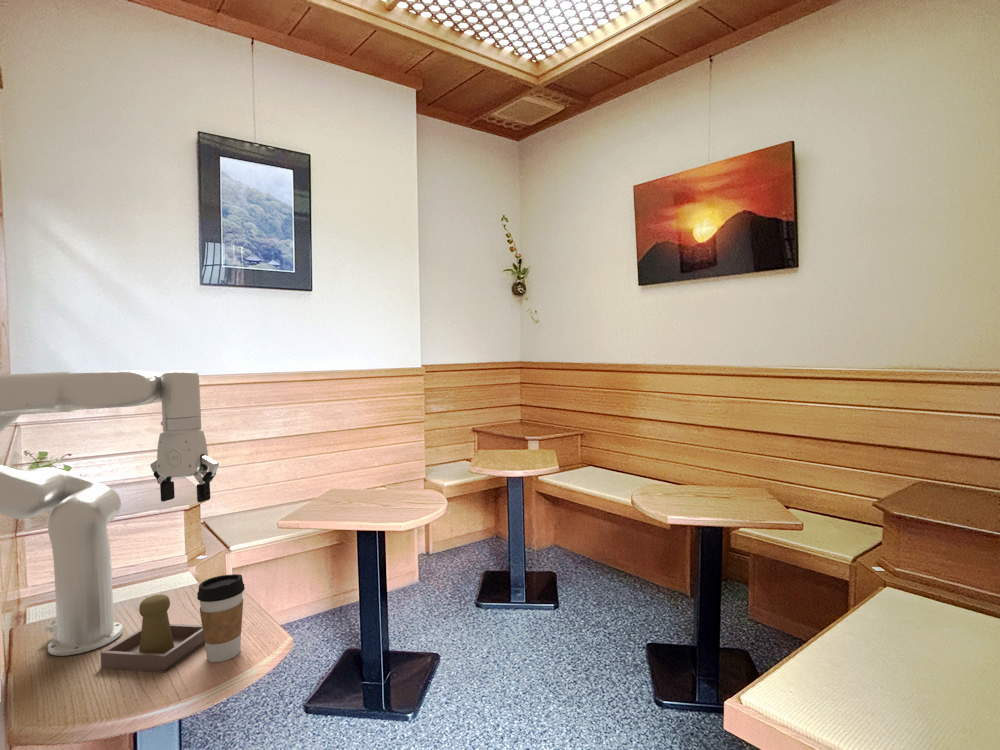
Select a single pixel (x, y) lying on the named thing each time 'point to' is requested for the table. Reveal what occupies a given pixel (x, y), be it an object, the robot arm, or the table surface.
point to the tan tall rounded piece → (155, 625)
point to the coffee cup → (221, 615)
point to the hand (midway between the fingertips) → (185, 500)
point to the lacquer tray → (130, 658)
